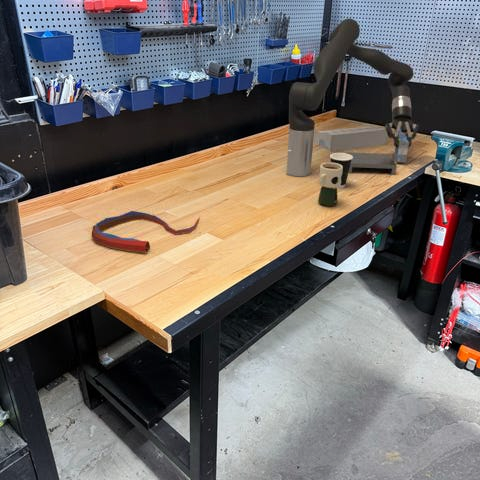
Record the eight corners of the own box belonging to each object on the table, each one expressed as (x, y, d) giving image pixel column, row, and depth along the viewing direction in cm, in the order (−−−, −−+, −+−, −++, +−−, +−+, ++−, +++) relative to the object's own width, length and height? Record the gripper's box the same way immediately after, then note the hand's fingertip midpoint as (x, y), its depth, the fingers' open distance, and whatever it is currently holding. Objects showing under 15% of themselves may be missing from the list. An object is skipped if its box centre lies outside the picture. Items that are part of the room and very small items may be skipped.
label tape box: (406, 162, 185) (412, 132, 180) (395, 162, 186) (401, 132, 180) (402, 156, 193) (408, 127, 187) (392, 155, 194) (398, 126, 188)
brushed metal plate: (347, 173, 177) (348, 163, 175) (343, 161, 189) (344, 152, 187) (395, 174, 175) (396, 164, 173) (388, 163, 188) (389, 153, 186)
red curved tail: (165, 206, 150) (163, 191, 148) (214, 222, 137) (213, 207, 135) (81, 240, 130) (78, 224, 127) (129, 264, 116) (126, 247, 114)
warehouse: (367, 137, 223) (369, 122, 220) (385, 145, 212) (388, 129, 208) (313, 143, 213) (315, 127, 210) (330, 152, 202) (332, 135, 198)
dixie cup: (323, 182, 167) (326, 153, 162) (343, 180, 169) (346, 152, 164) (332, 190, 161) (335, 160, 155) (353, 188, 162) (357, 158, 157)
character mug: (327, 211, 145) (331, 172, 139) (308, 205, 149) (312, 167, 143) (345, 202, 152) (350, 164, 146) (327, 196, 156) (331, 159, 150)
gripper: (416, 115, 193) (417, 152, 188) (382, 114, 194) (382, 150, 189) (422, 105, 186) (423, 143, 181) (386, 104, 187) (387, 141, 182)
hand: (402, 146), depth 185 cm, fingers closed on label tape box, 4 cm apart
